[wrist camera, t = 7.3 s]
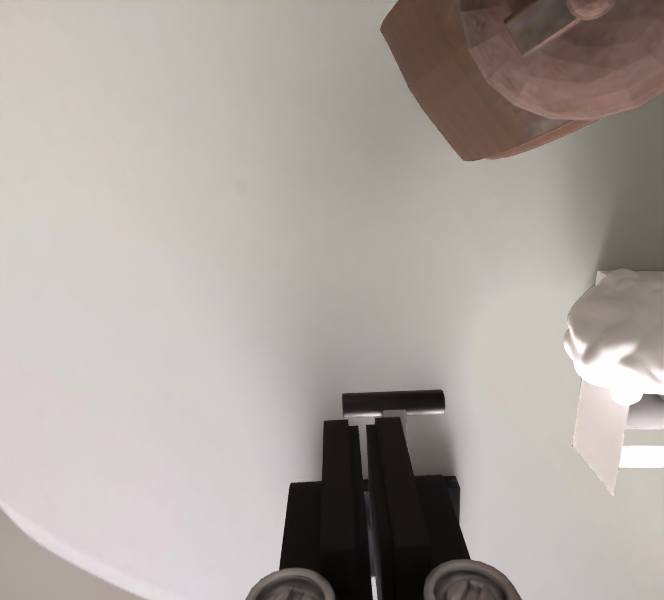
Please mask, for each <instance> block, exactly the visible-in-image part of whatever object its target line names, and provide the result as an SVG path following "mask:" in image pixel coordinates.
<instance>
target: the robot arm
mask: <svg viewBox="0 0 664 600" xmlns="http://www.w3.org/2000/svg"><path fill="white" fill-rule="evenodd" d="M366 438H367V457H368V477H369V496H370V516H371V534H372V546H373V556H374V567H375V577H376V587H377V597H378V600H522V599H521V597H520V596H519V594H518V592H517V591H516V589H515V587H514V586H513V584H512V583H511V582H510V581H509V579H508V578H507V577H506V576H505V575H504V574H503V573H501V572H500V571H498V570H497V569H496V568H494V567H492V566H490V565H487V564H485V563H483V562H480V561H474V560H471V559H470V556H469V553H468V550H467V547H466V544H465V541H464V538H463V535H462V531H461V528H460V525H459V522H458V519H457V516H456V513H455V510H454V507H453V504H452V501H451V498H450V495H449V492H448V489H447V486H446V483H445V480H444V477H443V476H442V475H426V476H414V473H413V469H412V465H411V460H410V456H409V452H408V448H407V444H406V440H405V436H404V432H403V427H402V423H401V419H400V417H382V418H375V424H374V425H366ZM246 600H372V591H371V572H370V555H369V541H368V529H367V518H366V507H365V496H364V485H363V473H362V462H361V451H360V440H359V429H358V425H357V426H349V425H348V419H346V420H328V421H324V432H323V464H322V481H316V482H297V483H291V484H290V487H289V495H288V503H287V511H286V519H285V527H284V535H283V543H282V551H281V559H280V567H279V571H276V572H273V573H271V574H269V575H267V576H266V577H264V578H262V579H261V580H260V581H259V582H258V583H257V584H256V585H255V586H254V587H253V588H252V589H251V591H250V593H249V594H248V596H247V598H246Z"/></svg>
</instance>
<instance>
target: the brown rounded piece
mask: <svg viewBox="0 0 664 600" xmlns="http://www.w3.org/2000/svg"><path fill="white" fill-rule="evenodd" d="M380 30H381V33H382V34H383V36H384V38H385V40H386V41H387V43H388V45H389V47H390V49H391V51H392V53H393V55H394V57H395V60H396V62H397V64H398V66H399V68H400V70H401V72H402V74H403V76H404V79H405V81H406V83H407V85H408V87H409V89H410V91H411V92H412V94H413V95H414V97H415V98H416V100H417V102H418V103H419V105H420V106H421V108H422V109H423V110H424V112H425V113H426V114H427V116H428V117H429V118H430V119H431V121H432V122H433V123H434V125H435V126H436V127H437V128H438V130H439V131H440V132H441V134H442V135H443V136H444V137H445V139H446V140H447V141H448V143H449V144H450V145H451V147H452V148H453V149H454V150H455V151H456V153H457V154H458V155H459V156H460V157H461V159H463V160H464V161H475V160H480V159H484V158H486V159H499V158H505V157H510V156H513V155H516V154H519V153H522V152H525V151H529V150H531V149H534V148H536V147H539V146H541V145H544V144H546V143H549V142H552V141H554V140H556V139H558V138H561V137H563V136H565V135H567V134H570V133H572V132H574V131H576V130H579V129H581V128H583V127H585V126H587V125H589V124H591V123H593V122H595V121H597V120H599V119H601V118H604V117H608V116H611V115H615V114H618V113H622V112H625V111H629V110H632V109H636V108H639V107H641V106H642V105H644V104H645V103H647V102H649V101H650V100H652V99H653V98H655V97H657V96H658V95H660V94H661V93H663V92H664V0H399V1H398V2H397V3H396V4H395V6H394V7H393V8H392V10H391V11H390V12H389V13H388V15H387V16H386V18H385V19H384V21H383V23H382V25H381V28H380Z"/></svg>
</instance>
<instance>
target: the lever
mask: <svg viewBox="0 0 664 600" xmlns="http://www.w3.org/2000/svg"><path fill="white" fill-rule="evenodd" d="M342 407H343V417H344V418H358V417H400V419H401V423H402V427H403V432H404V436H405V440H406V444H407V448H408V441H407V427H406V416H408V415H432V414H444V412H445V397H444V393H443V391H442V390H417V391H392V392H368V393H344V394H342Z"/></svg>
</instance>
